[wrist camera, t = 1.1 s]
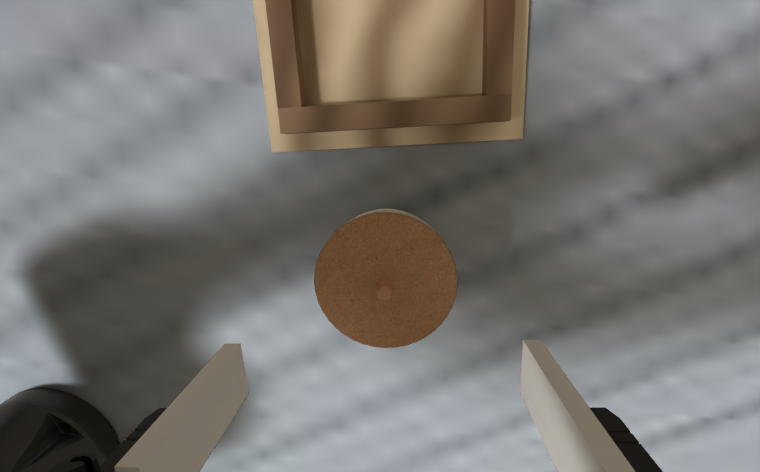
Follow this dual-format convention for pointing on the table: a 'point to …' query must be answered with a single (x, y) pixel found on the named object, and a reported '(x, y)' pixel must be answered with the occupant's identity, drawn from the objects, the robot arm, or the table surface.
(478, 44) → the wooden square tray
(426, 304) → the lidded jar
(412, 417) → the table surface
